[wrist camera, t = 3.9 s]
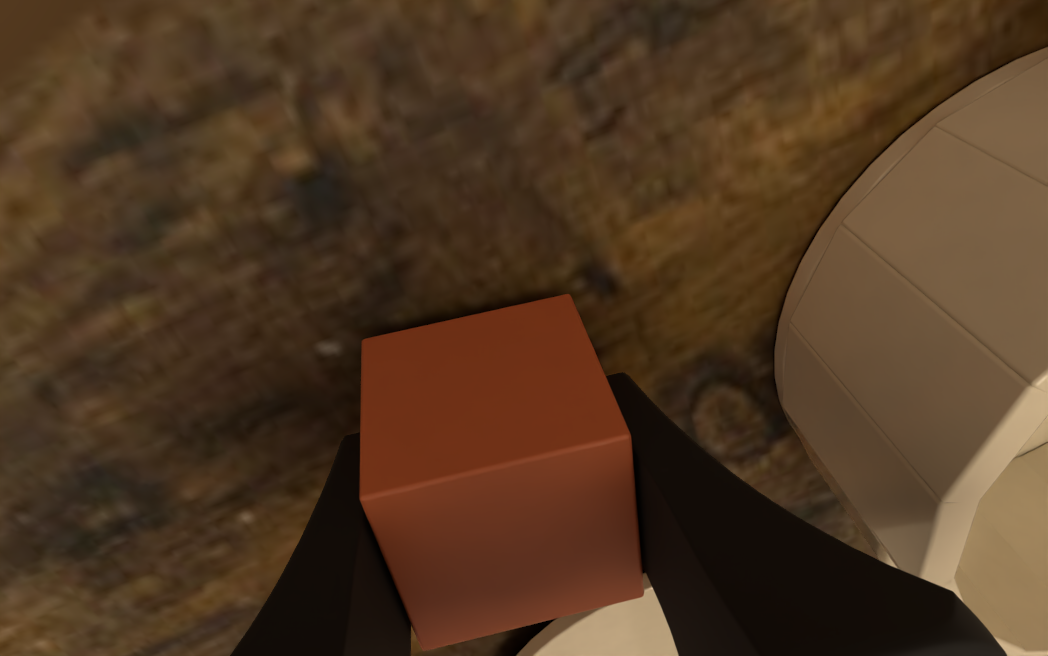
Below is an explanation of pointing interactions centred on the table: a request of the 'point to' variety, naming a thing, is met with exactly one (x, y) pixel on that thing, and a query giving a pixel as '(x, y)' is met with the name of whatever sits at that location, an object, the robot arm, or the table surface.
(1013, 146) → the pot
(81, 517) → the table surface
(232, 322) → the table surface
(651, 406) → the robot arm
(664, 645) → the lid
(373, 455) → the block
